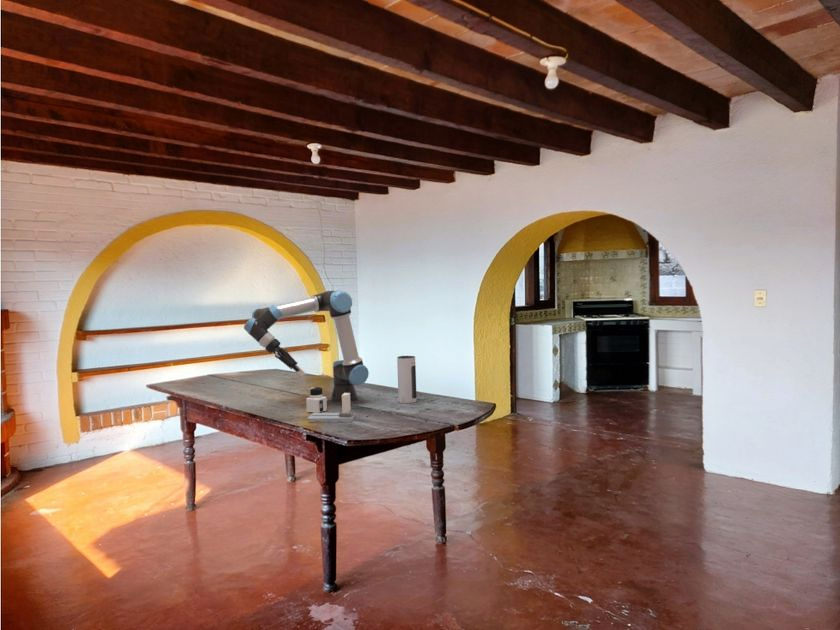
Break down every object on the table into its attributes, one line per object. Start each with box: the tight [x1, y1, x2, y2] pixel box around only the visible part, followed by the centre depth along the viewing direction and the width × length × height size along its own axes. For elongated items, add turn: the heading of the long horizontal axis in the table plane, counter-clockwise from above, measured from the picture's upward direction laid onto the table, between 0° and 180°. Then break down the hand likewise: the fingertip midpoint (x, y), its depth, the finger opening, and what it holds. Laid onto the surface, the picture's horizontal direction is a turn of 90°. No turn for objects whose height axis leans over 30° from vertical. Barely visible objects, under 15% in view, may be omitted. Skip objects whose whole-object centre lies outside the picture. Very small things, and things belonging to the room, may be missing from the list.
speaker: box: [396, 355, 418, 405], centre depth 332 cm, size 11×10×26 cm
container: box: [305, 386, 328, 413], centre depth 313 cm, size 8×8×13 cm
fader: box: [338, 393, 355, 417], centre depth 294 cm, size 8×6×10 cm
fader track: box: [306, 412, 357, 423], centre depth 296 cm, size 12×22×2 cm, turn 85°
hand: (303, 375), depth 299 cm, fingers closed
